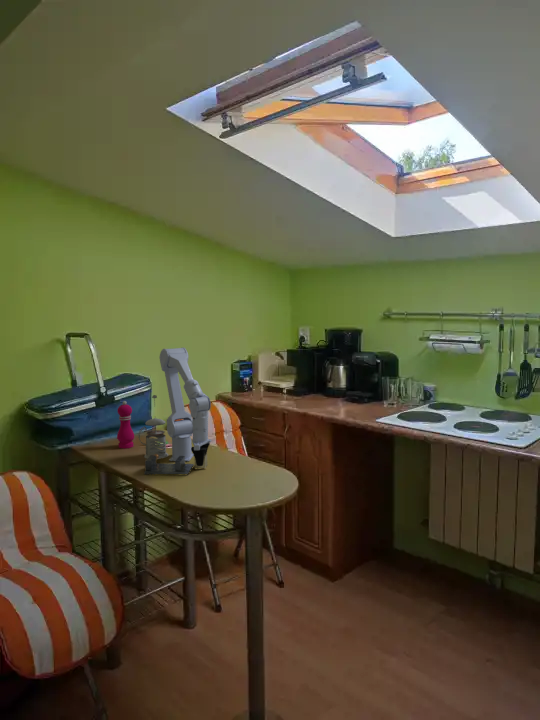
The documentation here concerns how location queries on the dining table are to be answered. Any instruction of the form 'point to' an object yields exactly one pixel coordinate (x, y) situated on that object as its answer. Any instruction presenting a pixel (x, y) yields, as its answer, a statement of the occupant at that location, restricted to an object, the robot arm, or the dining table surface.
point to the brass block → (203, 462)
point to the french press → (159, 437)
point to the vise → (171, 467)
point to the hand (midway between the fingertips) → (201, 463)
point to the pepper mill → (125, 427)
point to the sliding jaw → (151, 462)
